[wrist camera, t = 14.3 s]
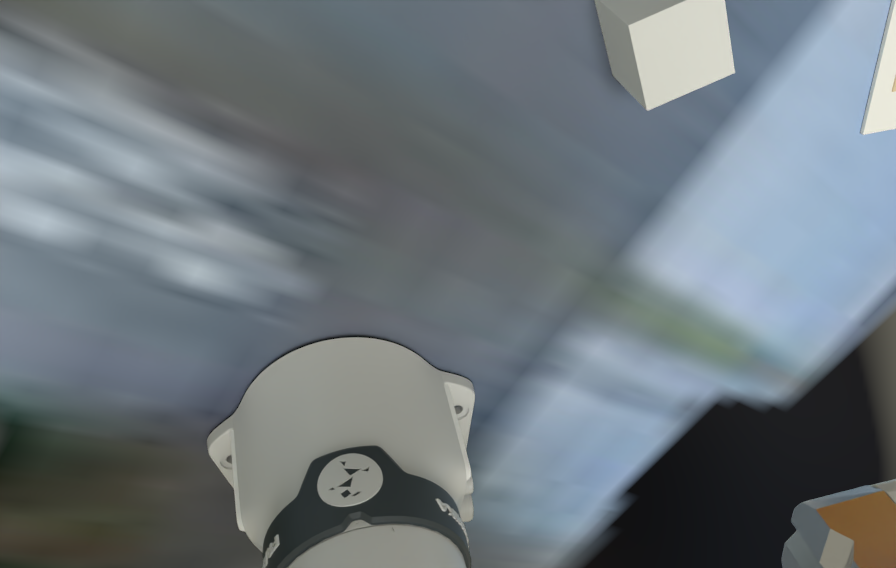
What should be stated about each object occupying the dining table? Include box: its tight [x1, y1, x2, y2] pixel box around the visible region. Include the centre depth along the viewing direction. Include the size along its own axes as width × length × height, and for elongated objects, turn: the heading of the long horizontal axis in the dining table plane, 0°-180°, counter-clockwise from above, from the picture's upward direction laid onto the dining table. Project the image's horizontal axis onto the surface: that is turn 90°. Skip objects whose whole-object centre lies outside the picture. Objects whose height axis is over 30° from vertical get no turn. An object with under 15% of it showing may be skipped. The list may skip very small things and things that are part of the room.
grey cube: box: [594, 0, 735, 111], centre depth 45 cm, size 5×5×5 cm
